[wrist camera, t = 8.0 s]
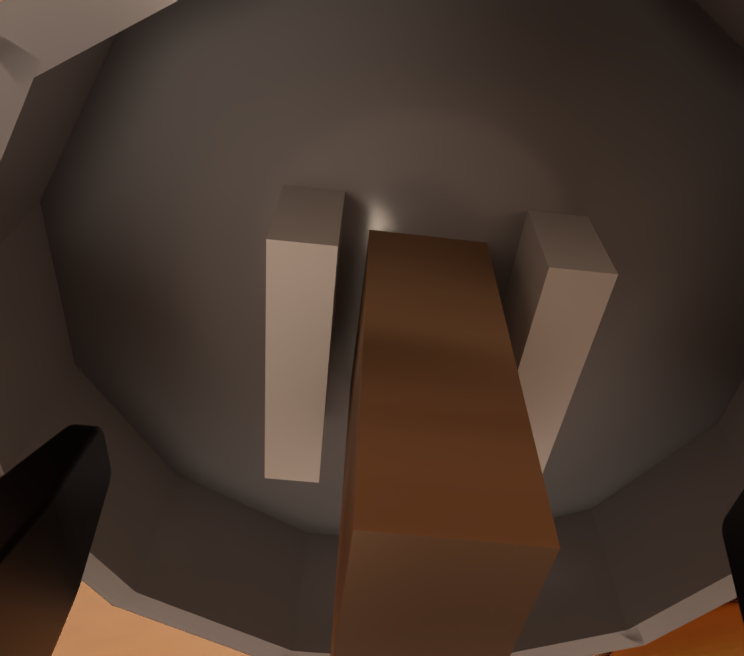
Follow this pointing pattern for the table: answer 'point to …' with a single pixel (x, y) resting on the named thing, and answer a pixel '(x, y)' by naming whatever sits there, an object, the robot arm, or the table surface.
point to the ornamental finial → (699, 636)
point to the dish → (345, 279)
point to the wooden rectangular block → (437, 463)
